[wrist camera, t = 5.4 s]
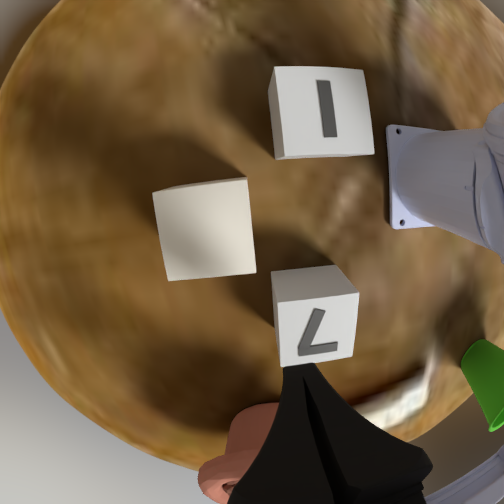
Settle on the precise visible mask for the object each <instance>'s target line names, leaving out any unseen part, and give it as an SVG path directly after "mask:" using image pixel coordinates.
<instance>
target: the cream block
mask: <svg viewBox="0 0 504 504" xmlns="http://www.w3.org/2000/svg"><path fill="white" fill-rule="evenodd" d="M152 195H153V202H154V208H155V215H156V221H157V226H158V232H159V238H160V243H161V248H162V253H163V258H164V263H165V268H166V273H167V277H168V281H174V280H186V279H197V278H209V277H219V276H230V275H240V274H251V273H256V262H255V251H254V241H253V231H252V222H251V212H250V202H249V193H248V183H247V177H241V178H232V179H223V180H215V181H208V182H200V183H193V184H186V185H180V186H174V187H171V188H167V189H164V190H160V191H156V192H153V193H152Z"/></svg>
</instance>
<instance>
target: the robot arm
mask: <svg viewBox="0 0 504 504" xmlns="http://www.w3.org/2000/svg"><path fill="white" fill-rule="evenodd" d="M396 129H398V130H399V134H397V133H396ZM386 138H387V149H388V163H389V185H390V226H391V227H392V228H394V229H405V228H417V227H429V226H437V227H440V228H442V229H445V230H447V231H449V232H452V233H454V234H457V235H459V236H461V237H464V238H466V239H468V240H470V241H473V242H475V243H477V244H479V245H482V246H484V247H486V248H488V249H490V250H492V251H494V252H496V253H497V254H499V256H500V258H501V262H502V264H504V102H503V103H501V104H500V105H498V106H497V107H495V108H494V109H493V110H492V111H491V112H490V113H489V115H488V117H487V120H486V122H485V124H484V126H483V128H480V129H464V130H451V131H439V130H433V129H426V128H419V127H411V126H402V125H388V126H387V127H386ZM400 220H402V221H403V222H402V224H401V225H400ZM432 468H433V465H432V463H431V461H430V459H429V457H428V456H427V454H426V453H425V452H424V450H423V449H422V448H420V447H417V446H414V445H411V444H409V443H407V442H404V441H402V440H400V439H398V438H396V437H394V436H392V435H390V434H389V433H387V432H385V431H383V430H382V429H380V428H379V427H377V426H375V425H374V424H372V423H371V422H370V421H368V420H367V419H365V418H364V417H363V416H362V415H360V414H359V413H358V412H357V411H355V410H354V409H353V408H352V407H351V406H350V405H349V404H348V403H347V402H346V401H345V400H344V399H343V398H342V397H341V396H340V395H339V394H338V393H337V392H336V391H335V390H334V388H333V387H332V386H331V385H330V384H329V383H328V381H327V380H326V379H325V378H324V376H323V375H322V374H321V372H320V371H319V369H318V368H317V366H316V365H315V364H314V363H313V362H312V363H305V364H299V365H292V366H285V367H284V368H283V386H282V392H281V397H280V401H279V405H278V409H277V412H276V415H275V418H274V421H273V424H272V426H271V429H270V431H269V433H268V435H267V438H266V440H265V442H264V444H263V446H262V447H261V449H260V451H259V453H258V455H257V456H256V458H255V459H254V461H253V462H252V464H251V466H250V467H249V469H248V470H247V471H246V473H245V474H244V475H243V477H242V478H241V479H240V480H239V482H238V483H237V484H236V485H235V487H234V488H233V490H232V493H231V495H230V497H229V499H228V502H227V504H496V503H497V502H498V501H500V500H501V499H502V498H503V497H504V445H503V446H502V447H501V448H500V449H499V450H498V452H497V453H496V454H494V455H493V456H492V457H490V458H489V459H488V460H486V461H485V462H484V463H482V464H481V465H480V466H478V467H476V468H475V469H473V470H472V471H470V472H469V473H467V474H466V475H464V476H463V477H461V478H459V479H458V480H456V481H454V482H453V483H451V484H449V485H447V486H446V487H444V488H442V489H440V490H438V491H436V492H435V493H432V494H431V495H428V496H427V497H424V496H423V493H422V491H421V490H423V488H424V487H423V485H422V481H423V479H424V478H425V477H426V476H427V475H428V474H429V473H430V472H431V470H432Z"/></svg>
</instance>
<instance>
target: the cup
mask: <svg viewBox="0 0 504 504" xmlns="http://www.w3.org/2000/svg"><path fill="white" fill-rule="evenodd" d="M461 370H462V372H463V373H464V375H465V377H466V379H467V381H468V383H469V385H470V386H471V388H472V390H473V392H474V394H475V396H476V398H477V400H478V402H479V404H480V406H481V408H482V410H483V412H484V415H485V417H486V419H487V422H488V424H489V429H488V430H489V431H490V432H492V431H494V430H496V429H498V428H499V427H501V426H502V425H503V424H504V350H502V349H501V348H499V347H497V346H496V345H494V344H492V343H491V342H489V341H487V340H483V339H480V340H478V341H476V342H475V343H474V344H472V346H471V347H470V348H469V349H468V350H467V351H466V353H465V355H464V356H463V358H462V361H461Z"/></svg>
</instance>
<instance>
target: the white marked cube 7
mask: <svg viewBox="0 0 504 504" xmlns="http://www.w3.org/2000/svg"><path fill="white" fill-rule="evenodd" d="M271 282H272V296H273V311H274V326H275V334H276V340H277V346H278V353H279V359H280V365H281V367H285V366H292V365H299V364H305V363H312V362H313V363H317V362H323V361H329V360H335V359H341V358H346V357H352V354H353V347H354V339H355V331H356V322H357V313H358V302H359V292H358V290H357V289H356V288H355V287H354V286H353V284H352V283H351V282H350V281H349V280H348V278H347V277H346V276H345V275H344V274H343V273H342V271H341V270H340V269H339V268H338V267H337V266H336V265H329V266H319V267H310V268H300V269H290V270H280V271H271Z"/></svg>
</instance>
